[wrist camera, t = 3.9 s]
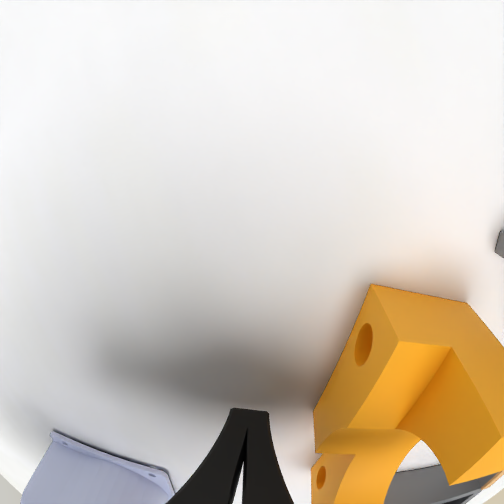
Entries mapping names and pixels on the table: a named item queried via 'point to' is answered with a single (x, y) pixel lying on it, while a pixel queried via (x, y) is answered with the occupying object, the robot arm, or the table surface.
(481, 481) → the grey piece
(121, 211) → the table surface
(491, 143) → the table surface
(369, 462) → the pipe clamp
